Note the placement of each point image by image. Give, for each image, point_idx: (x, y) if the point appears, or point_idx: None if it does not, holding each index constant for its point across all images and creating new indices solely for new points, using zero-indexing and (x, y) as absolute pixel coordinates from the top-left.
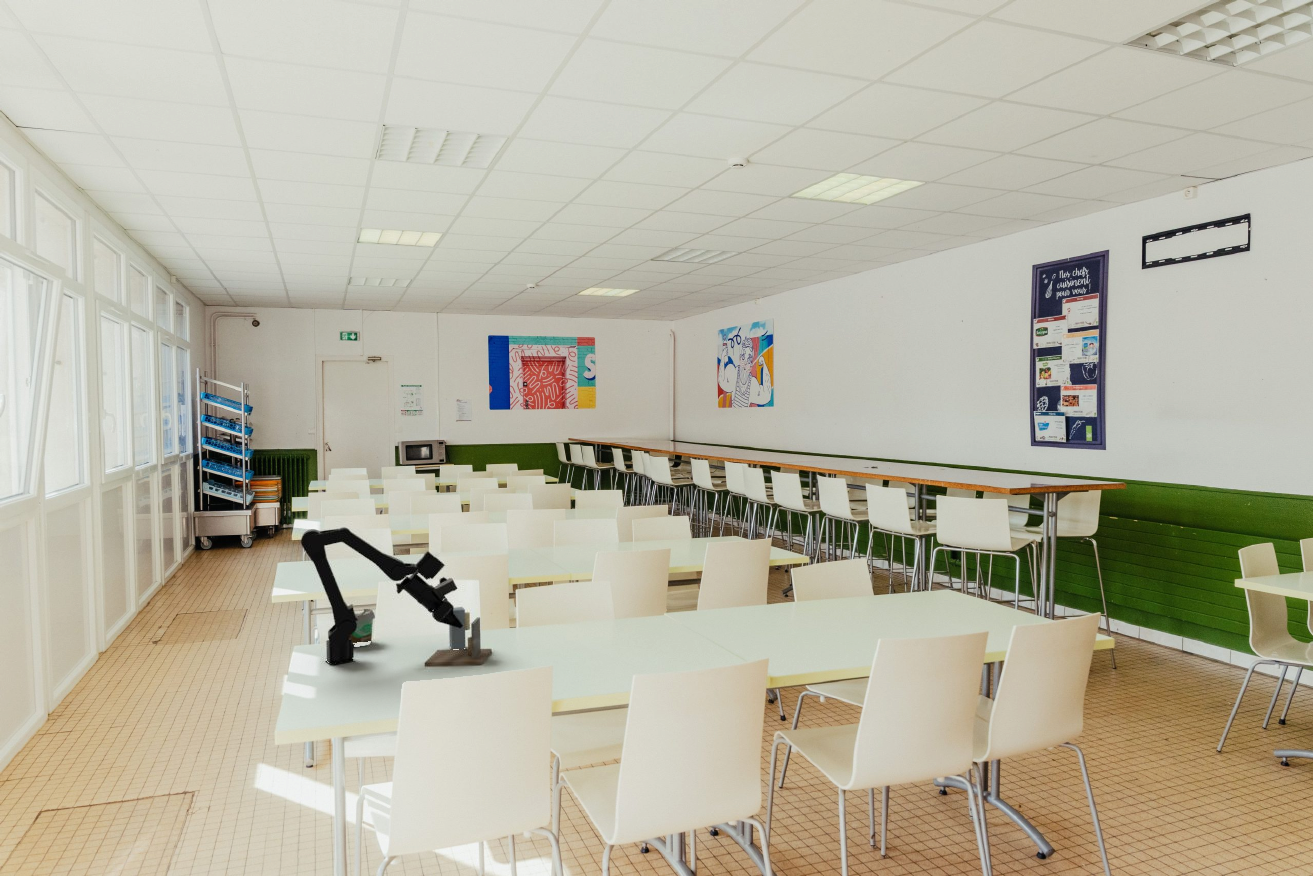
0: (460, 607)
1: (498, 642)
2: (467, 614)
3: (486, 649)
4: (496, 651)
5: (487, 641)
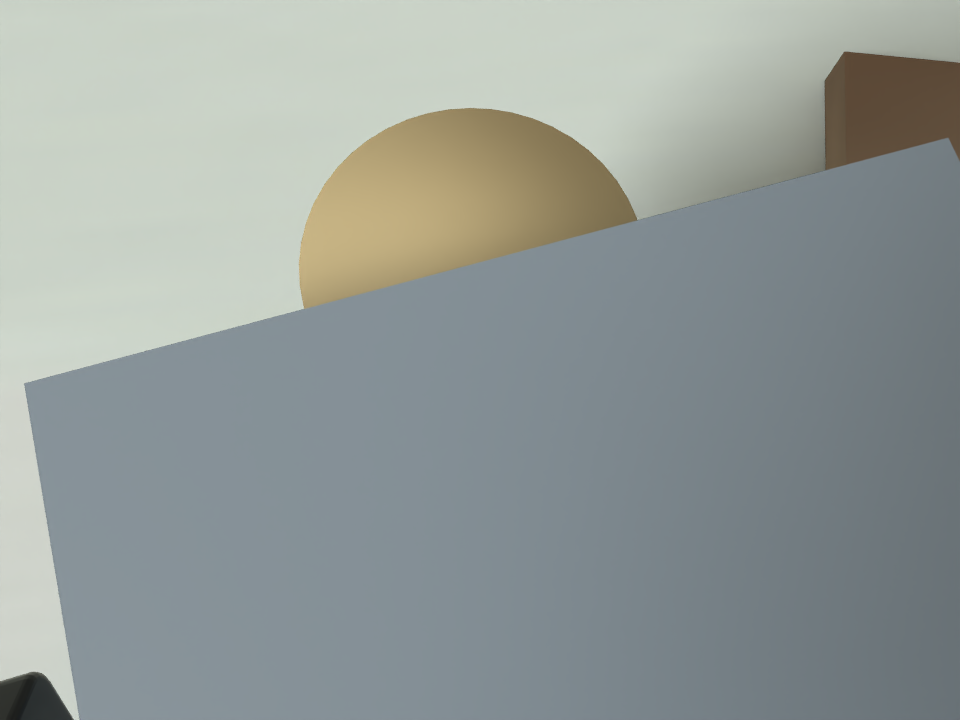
0: (188, 464)
1: (232, 34)
2: (601, 188)
3: (883, 115)
4: (778, 24)
5: (115, 191)
